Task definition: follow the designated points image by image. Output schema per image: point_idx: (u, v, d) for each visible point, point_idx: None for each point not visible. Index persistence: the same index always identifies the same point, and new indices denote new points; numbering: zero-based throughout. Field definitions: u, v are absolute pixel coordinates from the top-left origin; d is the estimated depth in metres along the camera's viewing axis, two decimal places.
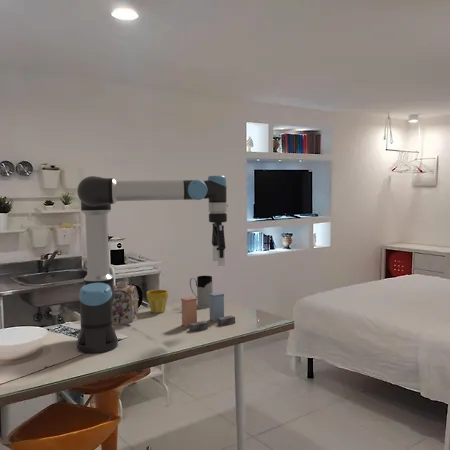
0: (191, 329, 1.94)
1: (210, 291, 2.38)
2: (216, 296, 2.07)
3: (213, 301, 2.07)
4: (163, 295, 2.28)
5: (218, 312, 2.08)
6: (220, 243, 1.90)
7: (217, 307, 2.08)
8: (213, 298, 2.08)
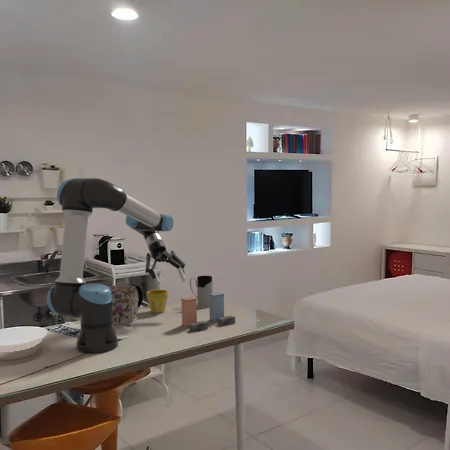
0: (191, 329, 1.94)
1: (210, 291, 2.38)
2: (216, 296, 2.07)
3: (213, 301, 2.07)
4: (163, 295, 2.28)
5: (218, 312, 2.08)
6: None
7: (217, 307, 2.08)
8: (213, 298, 2.08)
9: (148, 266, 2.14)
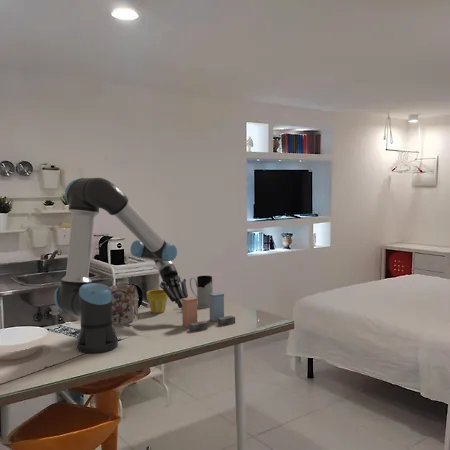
0: (191, 329, 1.94)
1: (210, 291, 2.38)
2: (216, 296, 2.07)
3: (213, 301, 2.07)
4: (163, 295, 2.28)
5: (218, 312, 2.08)
6: None
7: (217, 307, 2.08)
8: (213, 298, 2.08)
9: (172, 295, 2.07)
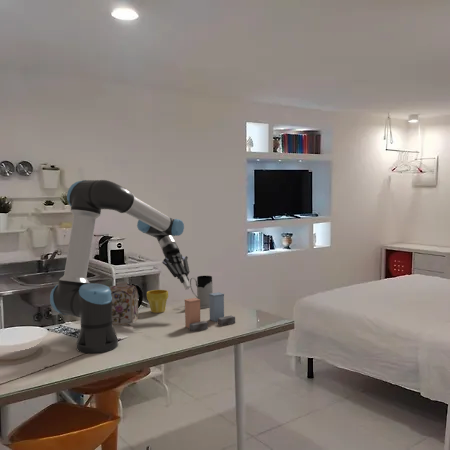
0: (191, 329, 1.94)
1: (210, 291, 2.38)
2: (216, 296, 2.07)
3: (213, 301, 2.07)
4: (163, 295, 2.28)
5: (218, 312, 2.08)
6: None
7: (217, 307, 2.08)
8: (213, 298, 2.08)
9: (175, 270, 2.17)
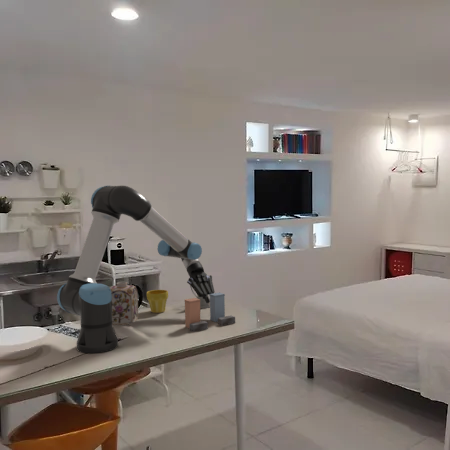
0: (191, 329, 1.94)
1: None
2: (217, 296, 2.07)
3: (214, 301, 2.07)
4: (163, 295, 2.28)
5: (219, 312, 2.08)
6: None
7: (217, 307, 2.07)
8: (213, 298, 2.07)
9: (200, 290, 2.15)
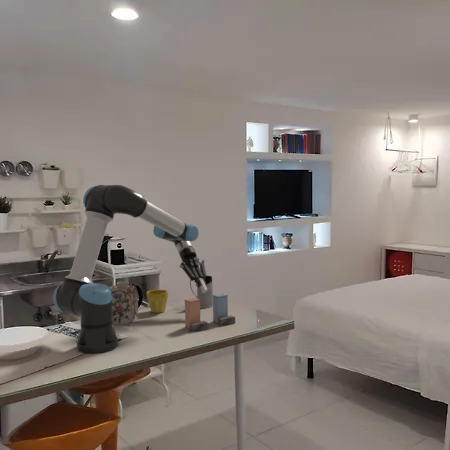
0: (191, 329, 1.94)
1: (210, 291, 2.38)
2: (220, 297, 2.05)
3: (217, 302, 2.05)
4: (163, 295, 2.28)
5: (222, 313, 2.06)
6: None
7: (220, 308, 2.06)
8: (216, 299, 2.05)
9: (192, 274, 2.19)
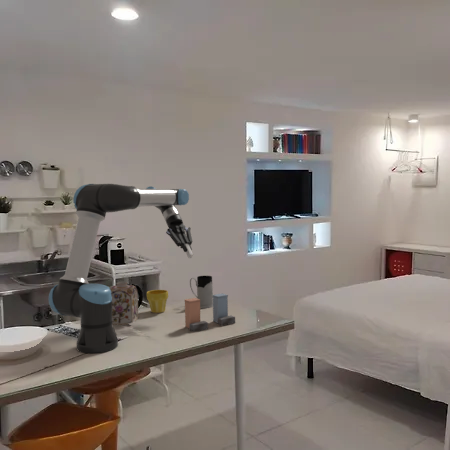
0: (191, 329, 1.94)
1: (210, 291, 2.38)
2: (220, 297, 2.05)
3: (217, 302, 2.05)
4: (163, 295, 2.28)
5: (222, 313, 2.06)
6: None
7: (220, 308, 2.06)
8: (216, 299, 2.05)
9: (178, 240, 2.23)
